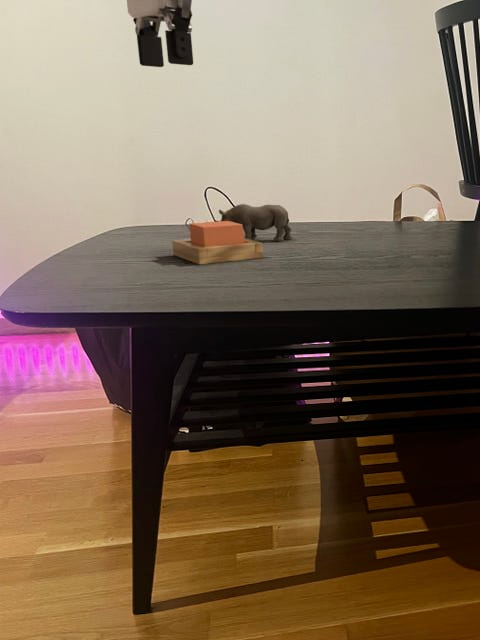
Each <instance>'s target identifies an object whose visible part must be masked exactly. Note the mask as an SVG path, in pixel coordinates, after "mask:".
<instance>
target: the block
mask: <svg viewBox="0 0 480 640" xmlns="http://www.w3.org/2000/svg"><path fill="white" fill-rule="evenodd" d="M218 221H219V222H214V221H207V222H206V221H205V222H192V223H191V222H190V223H189V236H190V239H191V244H194V245H197V246H200V247H209V246H220V245H231V244H242V243H244V238H245V237H244V230H243V225H242V224H238V223H234V222H230V221H221V220H218Z"/></svg>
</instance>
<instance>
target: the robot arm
mask: <svg viewBox="0 0 480 640" xmlns="http://www.w3.org/2000/svg"><path fill="white" fill-rule="evenodd" d="M192 1H193V0H126V7H127V13H128V15H129V16H130V17H131V18H133V19H132V21H133V23H134V24H135V27H134V32H135V35H136V41H137V50H138V51H137V53H138V59H139V60H138V61H139V65H140V66H142V67H154V68H163V67H165V61H164V51H163V42H162V41H163V39H162V36H159V32H160V27H161V23H162V22H165V25H166V27H167V29H168V30H167V29H166V30H164V32H165V33H164V34H165V42H166V52H167V53H166V54H167V62H168V63H169V64H171V65H181V66H193V65H194V55H193V42H192V41H193V40H192V31H193V25H192V22H191V21H192V17H193V13H192ZM151 22H152V23H151Z"/></svg>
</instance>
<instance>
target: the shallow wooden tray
mask: <svg viewBox="0 0 480 640" xmlns="http://www.w3.org/2000/svg"><path fill="white" fill-rule="evenodd" d="M243 238H244V243H242V244H231V245H220V246H209V247H200V246H197V245H194V244H191V238H184V239H173V240H171V243H172V253H173V256H175V257H178V258H181V259H184V260H186V261H189V262H191V263H195V264H197V265H208V264H218V263H226V262H235V261H242V260H243V261H245V260H254V259H263V258H264V248H263V242H260V241H256V240H254V239H252V240H249V239H246V238H245V237H243Z"/></svg>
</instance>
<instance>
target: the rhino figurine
mask: <svg viewBox="0 0 480 640" xmlns="http://www.w3.org/2000/svg"><path fill="white" fill-rule="evenodd" d="M218 214H219V215H221V219H220V220H215V219H214V220H213V222H219V221H230V222H234V223H238V224H242V225H243V232H244V238H246V239H249V240H255V239H256V238H257V237H258V235H257V234H256V230H259V231H267V230H269V229H272V228H273V227H274V228H275V229H276V235H275V236H274V237H273V242H282V241H284V240H291V239H293V236H292V235H291V232H292V228H291V227H290V226H289V222H290V219H289V213H288V211H287V210H286V208H285V207H283V206H282V205H280V204H264V205H261V206H252V205H250V204H246V203H240V204H236V205H235V206H233V207H231V208H229V209H227V210H226V211H224V210H221V209H219V210H218ZM205 222H208V221H205Z"/></svg>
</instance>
